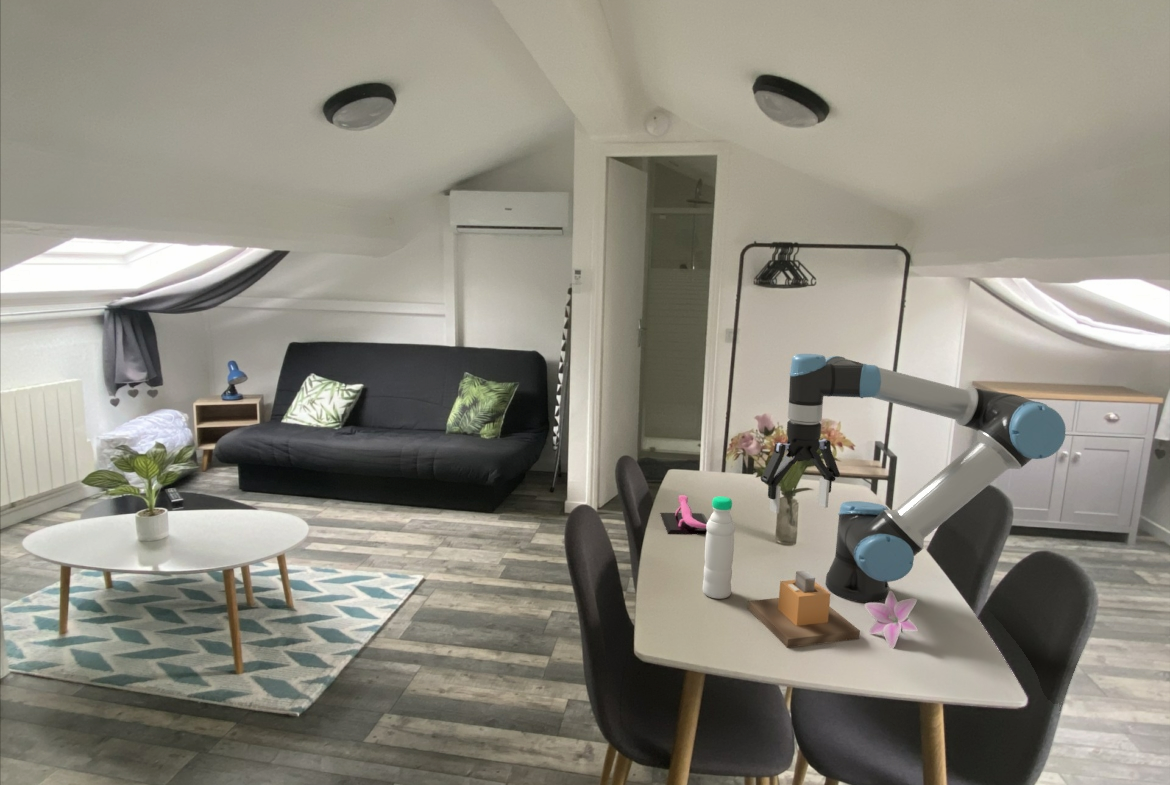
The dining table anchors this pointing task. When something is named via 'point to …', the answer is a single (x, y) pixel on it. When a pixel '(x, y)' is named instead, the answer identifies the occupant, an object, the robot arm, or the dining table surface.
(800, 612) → the orange slotted box
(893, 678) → the dining table surface
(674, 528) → the lizard figurine
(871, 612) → the lily
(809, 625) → the board
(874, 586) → the robot arm
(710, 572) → the water bottle
